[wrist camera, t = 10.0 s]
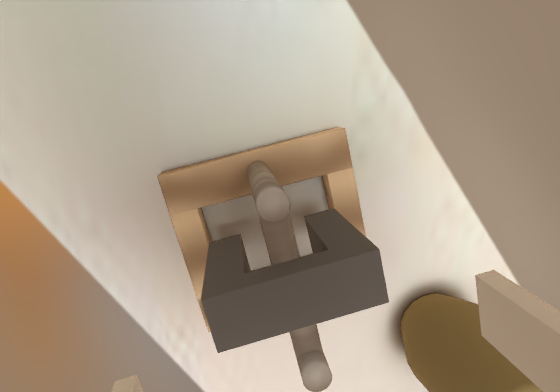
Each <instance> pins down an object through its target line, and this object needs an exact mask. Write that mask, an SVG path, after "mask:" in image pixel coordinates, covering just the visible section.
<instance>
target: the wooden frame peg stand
mask: <svg viewBox="0 0 560 392" xmlns="http://www.w3.org/2000/svg"><path fill="white" fill-rule="evenodd" d="M318 176H322V177H323V182H324V187H325V191H326V196H327V201H328V205H329V210H330V209H334V208H335V209H336V210H337V211H338V212H339V213H340V214H341V215H342V216H343V217H344V218H346V219H347V220H348V221H349V222H350V223H351V224H352V225H353V226H354V227H355V228H356V229H358V230H359V231H360V232H361V233H362V234H363V235H364V236H365V237H366V235H365V230H364V224H363V219H362V214H361V209H360V204H359V199H358V193H357V188H356V183H355V178H354V173H353V167H352V162H351V157H350V152H349V147H348V141H347V136H346V131H345V128H339V127H336V128H332V129H328V130H324V131H321V132H317V133H313V134H309V135H305V136H301V137H297V138H293V139H289V140H285V141H282V142H278V143H274V144H270V145H266V146H262V147H258V148H254V149H250V150H247V151H243V152H239V153H235V154H231V155H227V156H223V157H219V158H215V159H211V160H208V161H204V162H200V163H196V164H192V165H188V166H184V167H180V168H176V169H172V170H169V171H165V172H162V173H161V174H160V175H158V176H157V178H158V181H159V184H160V187H161V190H162V193H163V196H164V199H165V202H166V205H167V208H168V211H169V214H170V217H171V220H172V223H173V226H174V229H175V232H176V235H177V238H178V241H179V244H180V247H181V250H182V253H183V256H184V259H185V262H186V265H187V268H188V271H189V274H190V277H191V280H192V283H193V286H194V289H195V292H196V295H197V299H198V302H199V305H200V308H201V311H202V314H203V317H204V320H205V323H206V326H207V329H208V332H211V330H210V327H209V324H208V321H207V318H206V315H205V312H204V309H203V306H202V303H201V294H202V287H203V281H204V274H205V267H206V260H207V253H208V247H209V243H210V242H211V239H210V236H209V232H208V229H207V226H206V223H205V219H204V216H203V213H202V210H201V208H202V207H205V206H209V205H213V204H217V203H221V202H224V201H228V200H232V199H236V198H239V197H243V196H247V195H251V194H253V197H254V200H255V204H256V208H257V212H258V215H259V219H260V223H261V227H262V230H263V234H264V238H265V242H266V245H267V249H268V253H269V257H270V260H271V264H272V265H276V264H279V263H283V262H286V261H290V260H293V259H297V258H300V256H299V252H298V248H297V244H296V239H295V235H294V231H293V227H292V223H291V219H290V215H289V210H290V200H289V198H288V196H287V194H286V193H285V192H284V190H283V189H282V187H281V186H285V185H288V184H292V183H296V182H300V181H303V180H307V179H311V178H315V177H318ZM290 336H291V339H292V343H293V347H294V350H295V354H296V358H297V362H298V365H299V369H300V373H301V376H302V380H303V384H304V386H305V387H306V388H307V389H308V390H310V391H313V392H319V391H322V390H324V389H326V388H327V387H328V386H329V385H330V383H331V381H332V374H331V371H330V368H329V366H328V363H327V361H326V358H325V356H324V353H323V350H322V346H321V342H320V338H319V334H318V329H317V325H316V324H314V325H311V326H307V327H304V328H300V329H297V330H294V331H290Z"/></svg>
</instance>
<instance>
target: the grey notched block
mask: <svg viewBox="0 0 560 392" xmlns="http://www.w3.org/2000/svg"><path fill="white" fill-rule="evenodd" d="M304 217H305V221H306V226H307V230H308V234H309V239H310V243H311V247H312V251H313V254H311V255H307V256H304V257H300V258H297V259H293V260H290V261H286V262H283V263H279V264H276V265H272V266H268V267H265V268H261V269H258V270H254V271H251V270H250V266H249V263H248V259H247V256H246V252H245V249H244V245H243V242H242V238H241V235H240V234H239V235H235V236H231V237H228V238H224V239H221V240H217V241H213V242H210V243H209V247H208V253H207V260H206V267H205V274H204V281H203V287H202V294H201V303H202V306H203V309H204V312H205V315H206V318H207V321H208V324H209V327H210V330H211V333H212V336H213V340H214V343H215V346H216V349H217V352H218V353H220V352H223V351H226V350H230V349H233V348H237V347H240V346H243V345H247V344H250V343H253V342H257V341H260V340H263V339H267V338H270V337H274V336H277V335H280V334H284V333H287V332H290V331H294V330H297V329H300V328H304V327H307V326H311V325H314V324H317V323H321V322H324V321H327V320H331V319H334V318H337V317H341V316H344V315H347V314H351V313H354V312H358V311H361V310H364V309H368V308H371V307H374V306H378V305H381V304H384V303H388V302H389V300H388V294H387V289H386V283H385V278H384V273H383V267H382V262H381V256H380V251H379V249H378V248H377V247H376V246H375V245H374V244H373V243H372V242H371V241H370V240H368V239H367V238H366V237H365V236H364V235H363V234H362V233H361V232H360V231H359V230H358V229H356V228H355V227H354V226H353V225H352V224H351V223H350V222H349V221H348V220H347V219H346V218H344V217H343V216H342V215H341V214H340V213H339V212H338V211H337V210H336V209H335V208H334V209H330V210H326V211H323V212H319V213H315V214H312V215H308V216H304Z"/></svg>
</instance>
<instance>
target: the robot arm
mask: <svg viewBox="0 0 560 392" xmlns="http://www.w3.org/2000/svg"><path fill="white" fill-rule="evenodd" d="M475 277H476V286H477V296H478V306H479V315H480V325H481V335H482V336H483V337H484V338H485V339H486V340H487V341H488V342H489V343H490V344H491V345H493V346H494V347H495V348H496V349H497V350H498V351H499V352H500V353H501V354H502V355H503V356H505V357H506V358H507V359H508V360H509V361H510V362H511V363H512V364H513V365H514V366H515V367H517V368H518V369H519V370H520V371H521V372H522V373H523V374H524V375H525V376H526V377H527V378H529V379H530V380H531V381H532V382H533V383H534V384H535V385H536V386H537V387H538V388H539V389H541V390H542V391H543V392H560V311H558V310H557V309H555V308H554V307H552V306H550V305H549V304H547V303H546V302H544V301H542V300H541V299H539V298H538V297H536V296H534V295H533V294H531V293H530V292H528V291H526V290H525V289H523V288H522V287H520V286H519V285H517V284H515V283H514V282H512V281H511V280H509V279H507V278H506V277H504V276H503V275H501V274H499V273H498V272H496V271H495V270H492V271H489V272H485V273H482V274H478V275H475ZM111 392H144V391H143V389H142V386H141V384H140V382H139V379H138V377H137V375H134V376H131V377H127V378H124V379H120V380H117V381H116V382H115V383H114V386H113V388H112V391H111Z"/></svg>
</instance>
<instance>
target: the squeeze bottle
mask: <svg viewBox="0 0 560 392" xmlns="http://www.w3.org/2000/svg"><path fill="white" fill-rule="evenodd" d="M401 334H402V339H403V344H404V348H405V353H406V357H407V362H408V365H409V366H410V368H411V370H412V371H413V373H414V375H415V376H416V378H417V379H418V380H419V381H420V382H421V383H422V384H423V385H424V386H425V388H426V389H427V390H428V391H429V392H543V391H542V390H541V389H539V388H538V387H537V386H536V385H535V384H534V383H533V382H532V381H531V380H530V379H529V378H527V377H526V376H525V375H524V374H523V373H522V372H521V371H520V370H519V369H518V368H517V367H515V366H514V365H513V364H512V363H511V362H510V361H509V360H508V359H507V358H506V357H505V356H503V355H502V354H501V353H500V352H499V351H498V350H497V349H496V348H495V347H494V346H493V345H491V344H490V343H489V342H488V341H487V340H486V339H485V338H484V337H483V336H482V335H481V325H480V315H479V306H478V304H475V303H472V302H468V301H465V300H461V299H458V298H454V297H451V296H447V295H442V294H437V293H434V294H429V295H424V296H422V297H420V298H419V299H417V300H416V301H414V302H412V304H411V305H410V306H409V307H408V308H407V310H406V311H405V312H404V315H403V318H402V321H401Z"/></svg>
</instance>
